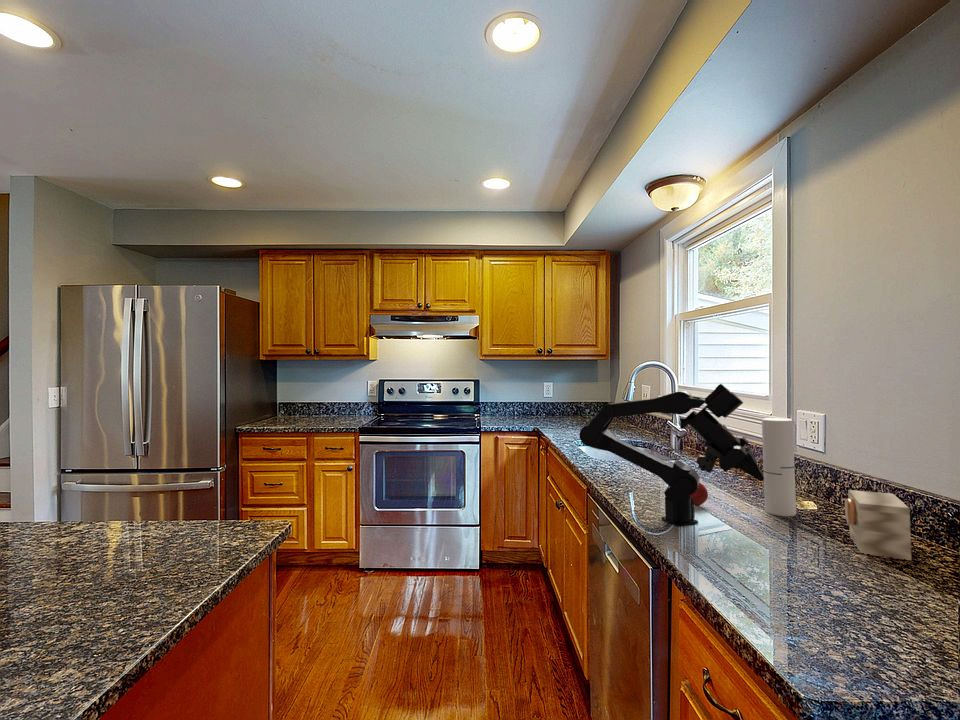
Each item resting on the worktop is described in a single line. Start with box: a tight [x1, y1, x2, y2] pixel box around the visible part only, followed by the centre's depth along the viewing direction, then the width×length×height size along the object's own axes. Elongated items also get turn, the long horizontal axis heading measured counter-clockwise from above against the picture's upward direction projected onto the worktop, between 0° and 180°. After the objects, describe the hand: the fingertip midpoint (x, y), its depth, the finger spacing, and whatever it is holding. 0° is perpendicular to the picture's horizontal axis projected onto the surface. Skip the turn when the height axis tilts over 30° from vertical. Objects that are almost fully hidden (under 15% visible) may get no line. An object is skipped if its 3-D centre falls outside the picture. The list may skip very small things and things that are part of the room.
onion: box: [689, 481, 709, 508], centre depth 134 cm, size 6×6×8 cm
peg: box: [844, 498, 857, 526], centre depth 102 cm, size 9×6×6 cm, turn 61°
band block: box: [847, 489, 912, 561], centre depth 102 cm, size 8×12×10 cm, turn 151°
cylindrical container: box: [761, 417, 797, 517], centre depth 128 cm, size 7×7×25 cm
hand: (762, 479), depth 113 cm, fingers closed
